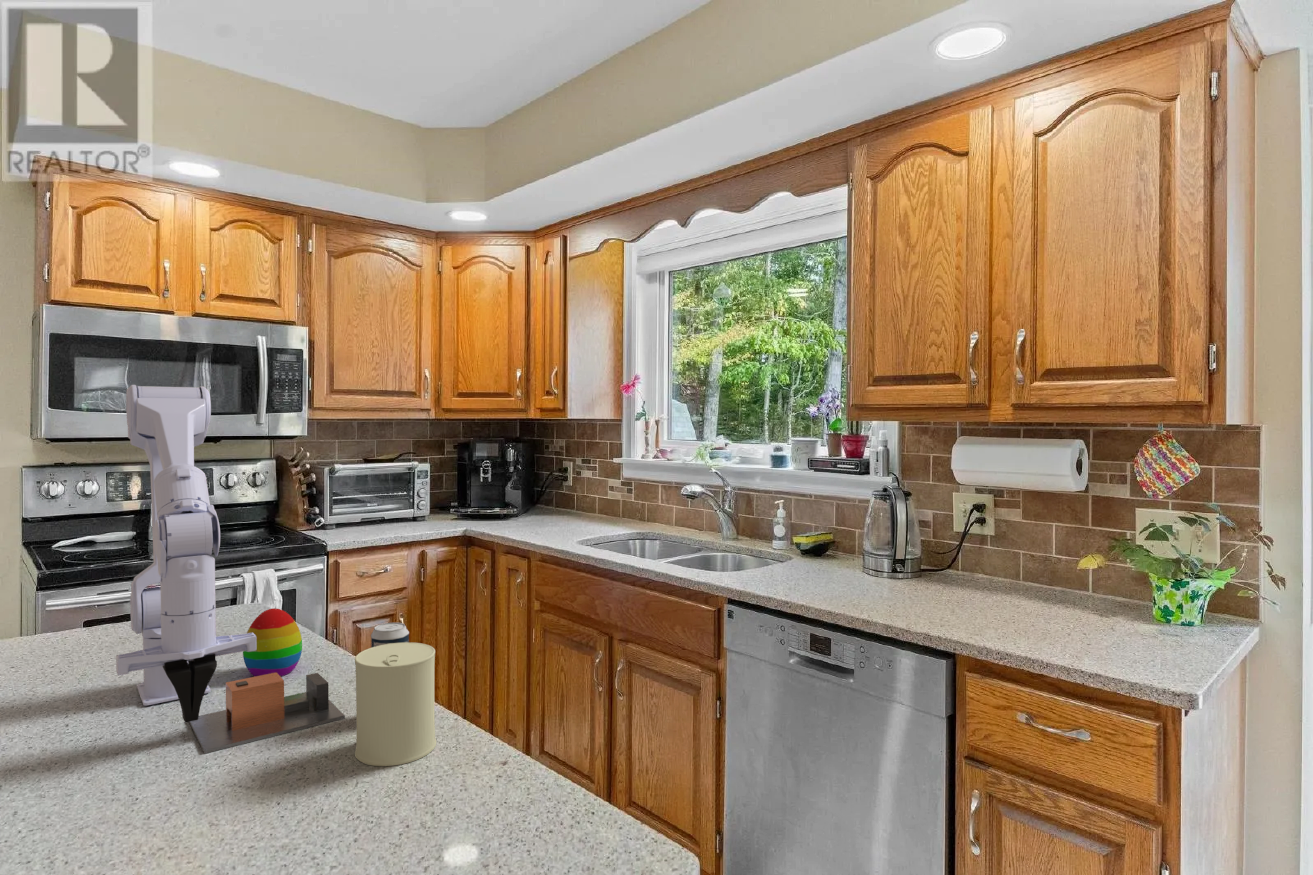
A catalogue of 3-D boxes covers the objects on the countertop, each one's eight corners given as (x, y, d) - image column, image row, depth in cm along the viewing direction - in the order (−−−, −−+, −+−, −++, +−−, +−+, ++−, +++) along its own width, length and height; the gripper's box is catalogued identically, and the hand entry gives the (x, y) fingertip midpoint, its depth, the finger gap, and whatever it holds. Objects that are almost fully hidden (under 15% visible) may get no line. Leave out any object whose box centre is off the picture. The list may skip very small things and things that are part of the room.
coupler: (188, 721, 97) (187, 690, 97) (318, 692, 107) (317, 664, 107) (204, 753, 88) (203, 720, 87) (344, 718, 98) (344, 688, 98)
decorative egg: (314, 666, 118) (313, 604, 118) (275, 684, 110) (275, 617, 110) (270, 661, 120) (270, 600, 120) (230, 679, 112) (229, 613, 112)
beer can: (363, 718, 98) (362, 628, 97) (391, 706, 102) (391, 619, 102) (389, 726, 95) (388, 633, 95) (417, 712, 100) (416, 624, 99)
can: (350, 771, 83) (349, 665, 83) (359, 736, 92) (359, 641, 92) (435, 761, 86) (434, 658, 86) (437, 728, 95) (436, 635, 94)
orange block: (226, 720, 96) (225, 681, 96) (276, 709, 100) (276, 671, 100) (232, 730, 93) (231, 690, 93) (284, 718, 97) (283, 679, 97)
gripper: (118, 627, 84) (121, 746, 84) (261, 606, 93) (262, 713, 93) (113, 614, 89) (116, 726, 89) (249, 596, 98) (250, 697, 99)
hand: (190, 718), depth 92 cm, fingers closed
